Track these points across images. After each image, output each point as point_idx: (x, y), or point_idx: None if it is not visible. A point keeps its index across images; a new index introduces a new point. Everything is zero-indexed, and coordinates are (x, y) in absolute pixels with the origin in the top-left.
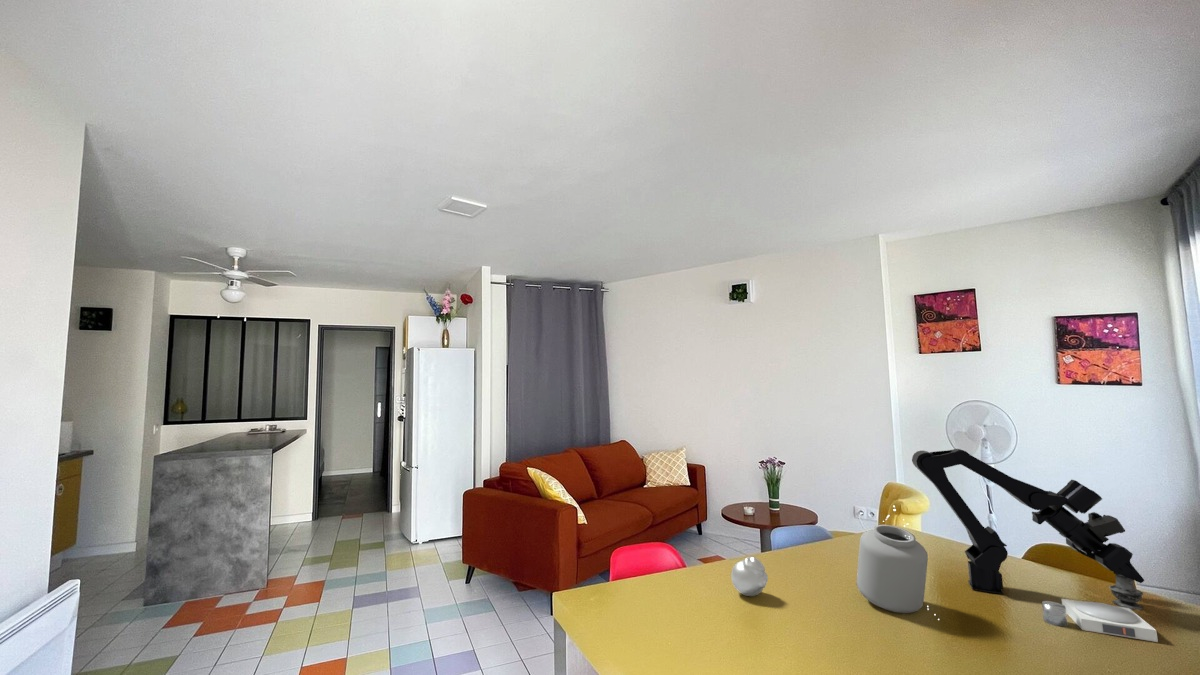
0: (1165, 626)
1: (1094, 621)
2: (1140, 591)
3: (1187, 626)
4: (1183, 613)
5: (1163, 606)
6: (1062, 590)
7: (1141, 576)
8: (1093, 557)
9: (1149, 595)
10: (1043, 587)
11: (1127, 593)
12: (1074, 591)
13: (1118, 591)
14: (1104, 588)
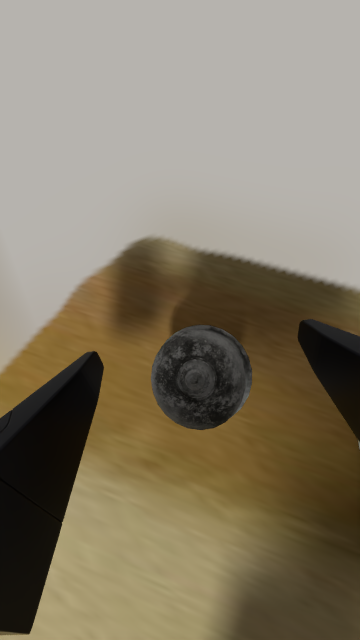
0: None
1: None
2: (196, 327)
3: (314, 282)
4: (201, 258)
5: (164, 284)
6: (141, 541)
7: (336, 328)
8: (55, 514)
9: (83, 286)
10: (134, 614)
11: (251, 383)
12: (134, 496)
13: (240, 408)
14: None
